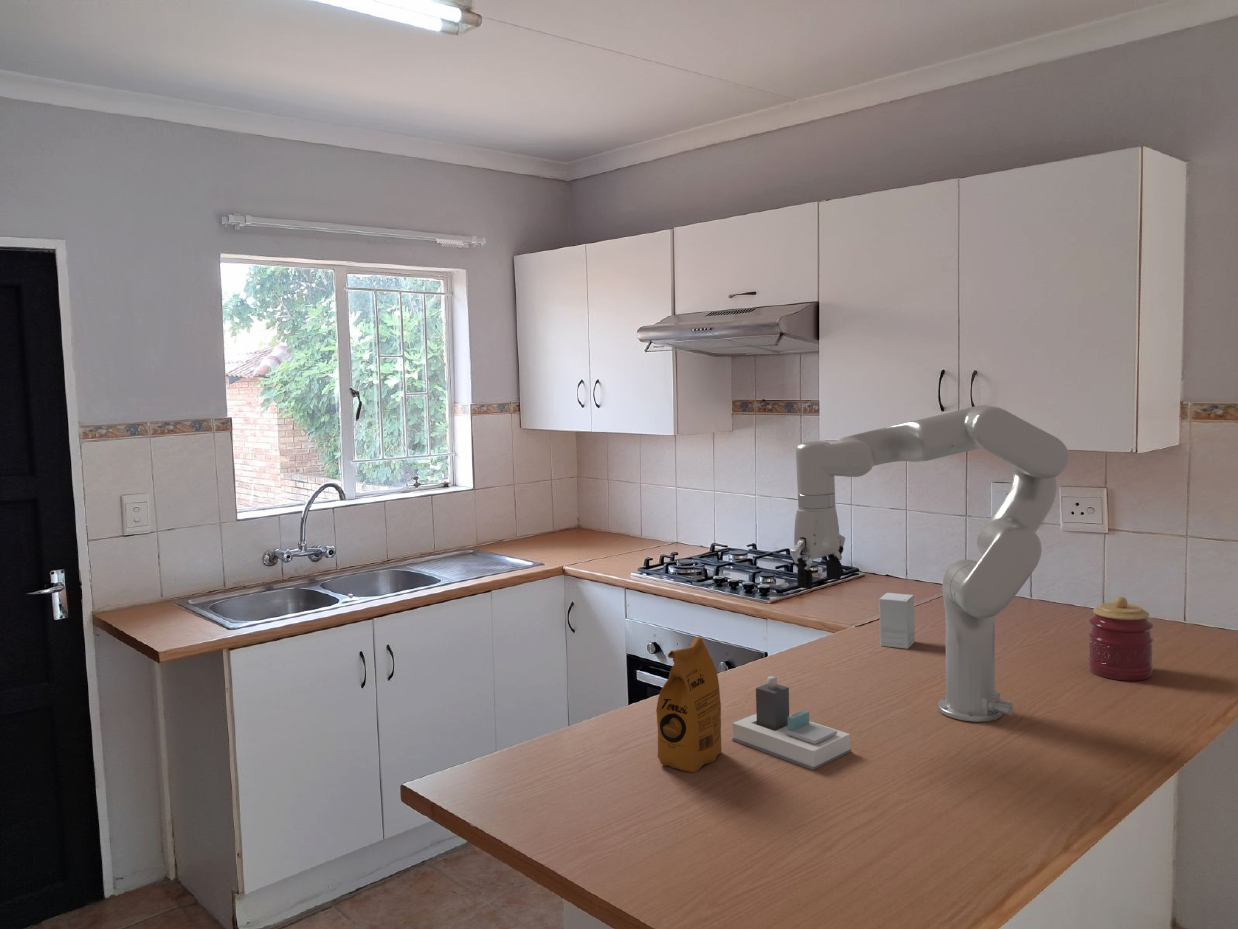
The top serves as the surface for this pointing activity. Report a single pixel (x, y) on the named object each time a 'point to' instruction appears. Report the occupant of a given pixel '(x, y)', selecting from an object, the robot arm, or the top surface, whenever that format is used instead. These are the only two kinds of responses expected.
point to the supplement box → (897, 620)
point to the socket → (790, 744)
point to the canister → (1120, 641)
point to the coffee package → (689, 710)
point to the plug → (772, 705)
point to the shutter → (807, 728)
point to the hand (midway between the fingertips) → (819, 583)
